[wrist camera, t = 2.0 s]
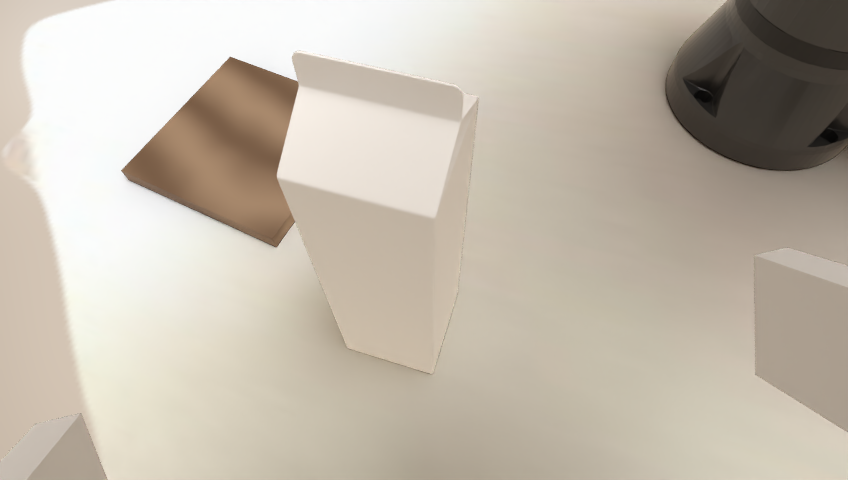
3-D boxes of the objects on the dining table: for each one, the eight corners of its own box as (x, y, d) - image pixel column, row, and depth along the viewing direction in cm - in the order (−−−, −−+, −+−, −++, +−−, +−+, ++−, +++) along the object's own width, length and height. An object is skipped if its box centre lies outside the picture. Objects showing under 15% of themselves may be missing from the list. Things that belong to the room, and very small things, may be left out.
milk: (377, 272, 38) (323, -9, 19) (459, 294, 37) (488, 22, 18) (345, 351, 35) (245, 112, 16) (433, 377, 34) (437, 157, 15)
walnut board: (234, 67, 49) (230, 56, 48) (369, 117, 45) (367, 107, 44) (128, 179, 42) (121, 170, 41) (276, 247, 39) (272, 239, 38)
